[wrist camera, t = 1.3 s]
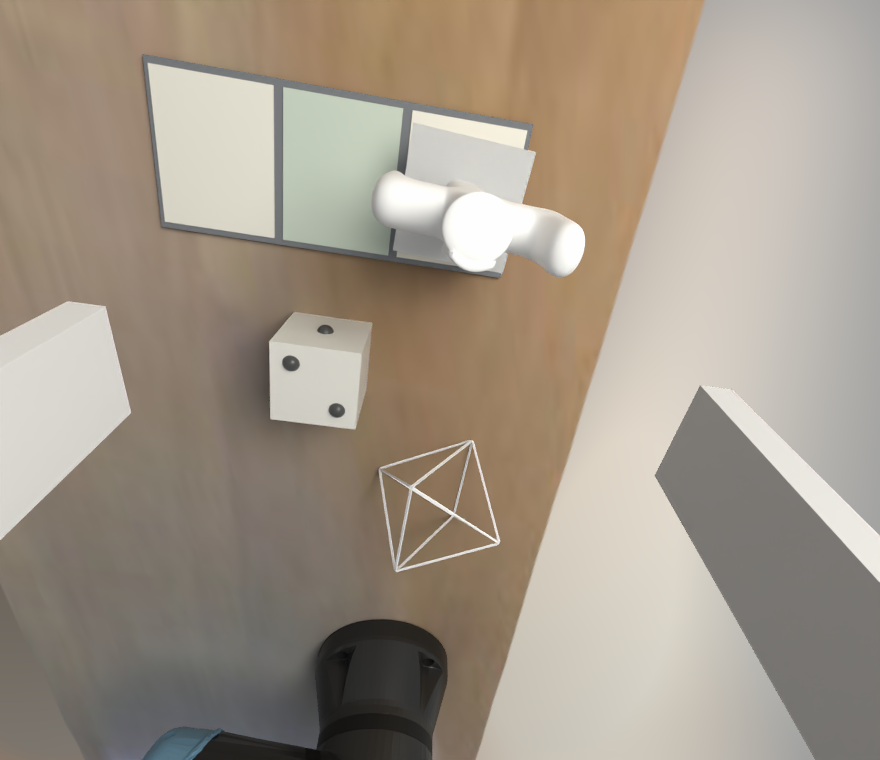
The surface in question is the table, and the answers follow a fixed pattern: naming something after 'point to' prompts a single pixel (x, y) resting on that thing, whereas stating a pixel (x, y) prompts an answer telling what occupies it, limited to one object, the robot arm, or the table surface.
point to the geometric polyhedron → (411, 488)
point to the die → (319, 370)
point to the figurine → (472, 206)
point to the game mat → (288, 157)
